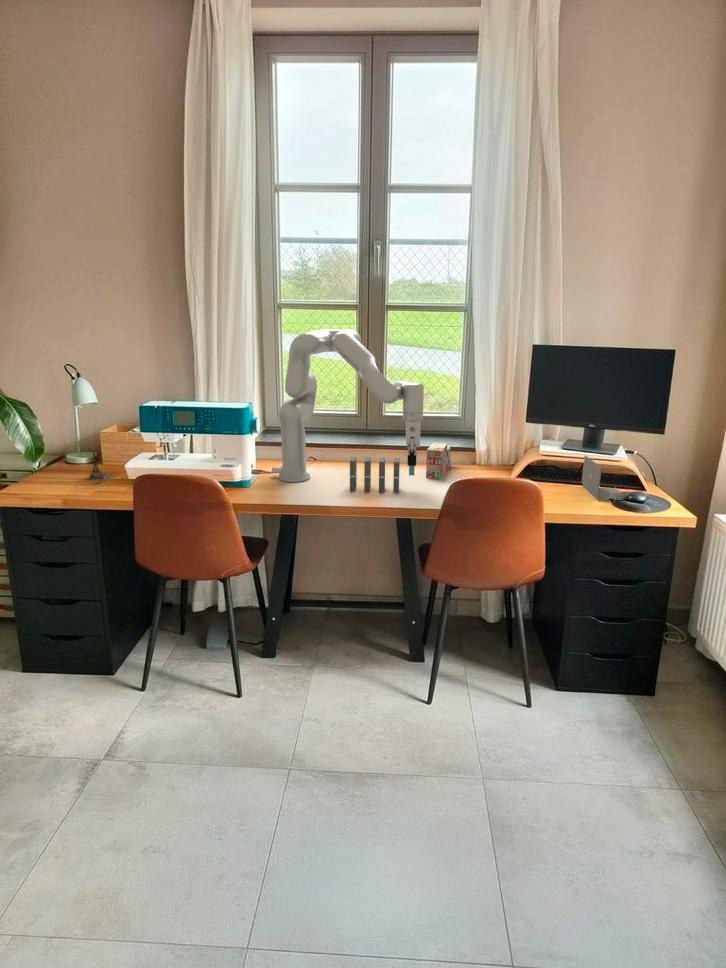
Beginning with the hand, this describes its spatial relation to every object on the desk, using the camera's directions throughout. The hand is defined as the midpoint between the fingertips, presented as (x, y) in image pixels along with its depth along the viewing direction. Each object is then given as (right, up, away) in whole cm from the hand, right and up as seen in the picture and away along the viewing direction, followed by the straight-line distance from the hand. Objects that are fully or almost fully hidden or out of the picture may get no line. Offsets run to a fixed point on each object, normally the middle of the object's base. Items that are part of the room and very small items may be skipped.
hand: (411, 462), depth 249 cm
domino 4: (-6, -10, +4) cm, 12 cm away
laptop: (+73, -12, +2) cm, 74 cm away
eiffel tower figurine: (-125, -6, +17) cm, 126 cm away
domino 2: (-17, -10, +5) cm, 20 cm away
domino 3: (-11, -10, +4) cm, 16 cm away
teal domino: (0, -4, +1) cm, 4 cm away
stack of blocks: (+13, -3, +29) cm, 32 cm away
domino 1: (-22, -10, +5) cm, 25 cm away
